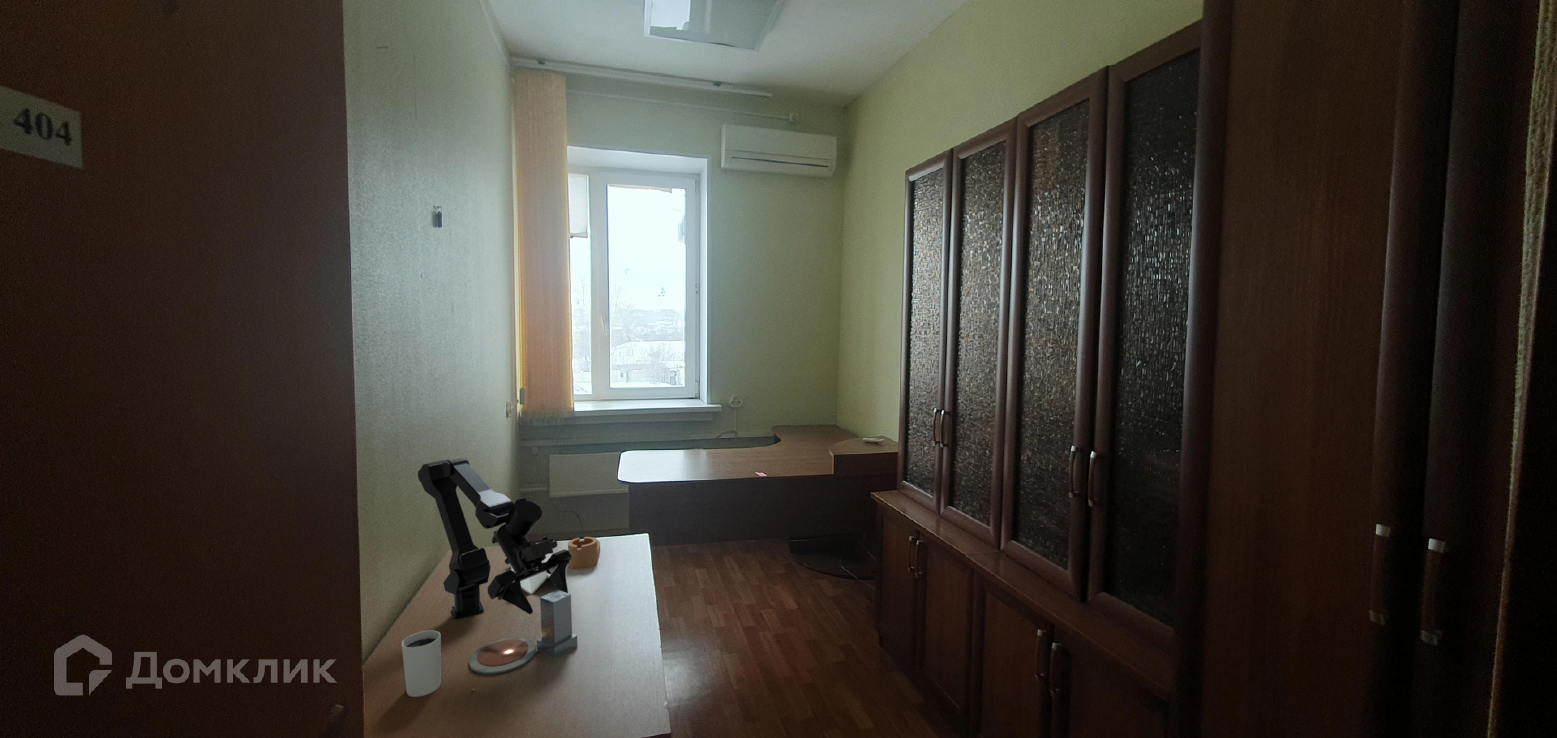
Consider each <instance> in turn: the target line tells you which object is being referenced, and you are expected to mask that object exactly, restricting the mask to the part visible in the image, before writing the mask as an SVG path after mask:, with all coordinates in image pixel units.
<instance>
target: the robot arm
mask: <svg viewBox="0 0 1557 738" xmlns="http://www.w3.org/2000/svg"><path fill="white" fill-rule="evenodd" d="M417 478H418V480H419V482H420V483H421V484H420V485H421V486H422V488H423V490H424V492H426V493H427V494H429V496H431V498H433V499H434V500H435V504H436V506H437V509H438V511H439V514H440V519H441V521H442V524H443V528H444V531H445V534H446V537H447V540H448V543H449V546H450V549H451V557H450V561H449V564H448V568H449V574H448V575H447V577H446V578H445V580H444V581H443V587H444V591H445V592H446V593H448V594H452V595H453V599H454V606H452V607H451V611H452V614H453V618H454V619H459V618H463V617H467V616H471V615H476V614H480V613H484V612H485V609H484V606H483V604H482V602H481V589H480V588H481V587H480V586H481V585H484V584H487V583H488V582H489V577H490V573H491V567H492V566H491V564H490V560H489V559H488V556H487V551H486V549H485V548H484V547H480V548H479V547H478V546H477V545H475V544H474V542H473V539H472V536H471V532H470V529H469V526H468V523H467V520H466V518H465V515H464V511H463V509H462V505H461V502H460V499H459V497H458V496H459V495H458V493H457V488H459V490H461V492H462V493H463V495H464V496H465V497H467V499H468V500H469V501H470V502H471V503H472V504H473V506H474V508H475V512H474V513H475V515H474V516H475V518H476V519H477V520H478V522H479V524H480V525H481V527H483V528H484V529H486V530H488V529H489V530H490V529H493V528H496V527H499V526H500V527H499V528H498V529H497V530H494V531H493V535H492V538H491V544H497V543H498V545H499V547H500V549H501V551H502V552H503V553H504V555H505V557H506V558H505V559H504V563H505V565H510V567H511V566H512V568H513V570H514V571H512V570H511V569H510V570H507V571H505V572H501V573H500V574H496V575H495V577H494V578H493V580H492V581H491V582H490V583H489V585H488V586H487V594H488V596H489V598H490V600H494V599H496V598H497V600H498V601H501V600H503V601H505V602H507V603H509V604H511V605H514V607H517V608H518V609H520V610H521V611H523V612H525V613H527V614H528V615H532V614H533V613H534V610H533V608H532V604H531V603H530V602H529V600H528V598H527V597H526V595H525V593H524V590H523V589H521V583H520V581H522V580H525V579H527V578H530V577H532V576H535V575H537V574H539V573H542V572H544V571H546V572H547V573H548V574H551V575H550V576H549V578H548V579H549V580H550V581H551V583H552V585H553V586H555V588H556V590H560V591H563V592H566V593H569V590H568V585H567V584H568V583H567V578H566V577H567V575H566V569H567V567H568V566H569V561H570V560H571V559H572V558H573V557H572V555H571V553H570V552H569V551H568V549H564V548H563V549H562V550H559V551H557V552H554V550H553V549H555V548H558V541H557V539H556V537H555V536H554V535H553V534H552V533H551V534H549V535H545V536H543V537H542V538H541V541H540V542H536V541H534V540H531V541H530V540H529V538H528V536H527V535H528V534H530V533H531V532H532V530H533V529H534V527H535V526H536V525H537V523H538V521H540V519H541V517H542V516H543V510H542V508H541V506H540V505H538V504H536V503H535V502H534V501H530V500H527V498H526V497H521V498H517V499H516V500H515V501H514V502H513V501H512V499H511V498H509V497H507V496H506V495H505V494H504V493H500V492H496V491H494V490H493V489H492V488H491V487H490V486H489V485H488V484H487V483H486V482H485V481H484V480H483V479H482V478H481V476H479V474H478V473H477V472H476V471H475V470H474V469H473V467H471V466H470V462H469V460H468V459H467V458H464V457H462V458H456V459H442V460H437V461H432V462H428V463H423V464H422V465H421V468H420V469H419V470H418V472H417ZM551 553H552V555H551V557H550V558H549V559H548V561H547V562H544V563H542V561H543V560H544V559H545V558H546V556H545V555H547V554H551ZM537 569H538V570H537Z"/></svg>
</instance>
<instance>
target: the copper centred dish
mask: <svg viewBox="0 0 1557 738" xmlns="http://www.w3.org/2000/svg"><path fill="white" fill-rule="evenodd" d="M536 653H537V644H536V642H534V641H532V640H530V639H528V638H524V637H509V638H508V637H507V638H502V639H498V640H495V641H492V642H489V643H487V644H485V645H482V646H481V647H479V648H478V649H476V651H474V652H473V653H472V654H471V656H470V657H469V661H468V662H469V663H468V664H469V669H470V670H471V671H472V672H474V673H476V674H480V675H498V674H503V673H508V672H511V671H515V670H517V669H519V668H521V667H523V666H524V665H526V664H527V663H529V662H530V661H532V660H533V658H534V657H535V655H536Z"/></svg>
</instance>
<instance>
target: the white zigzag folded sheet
mask: <svg viewBox="0 0 1557 738" xmlns="http://www.w3.org/2000/svg"><path fill="white" fill-rule="evenodd" d="M552 554H553V553H551V554H547V555H545V556H546V558H545V559H544V560H543V561H542V563H544V562H547V561H548V559H549V558H550V557H551V555H552ZM510 570H512V571H514V570H513V568H512V566H511V565H510ZM537 570H538V569H537ZM550 575H551V574H548V573H547V572H546V571H544V572H542V573H539V574H537V575H535V576H532V577H530V578H527V579H525V580H522V581H520V583H521V589H522V591H523V592H526V593H527V594H529V595H531V596H532V595H533V594H534V593H535V592H536V591H537V590H538V589H539V588H540V586H541V585H543V583H544V582H545V581H546V580H547V579H549V576H550Z"/></svg>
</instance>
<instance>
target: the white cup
mask: <svg viewBox="0 0 1557 738" xmlns="http://www.w3.org/2000/svg"><path fill="white" fill-rule="evenodd" d="M441 636H442V635H441V632H440V631H437V630H430V629H429V630H423V631H419V632H415V633H412V634H410V635H408V636H407V637H405V638H404V639H403V640H402V642H401V651H402V652H401V653H402V659H403V671H404V678H405V687H406V688H405V689H406V694H407V695H408V696H409V697H415V698H417V697H418V698H419V697H423V696H427V695H429V694H432V693H433V692H435V691H437V690H438V689H439V688H440V687H441V683H442V682H441V680H442V677H441V673H442V672H441V671H442V670H441V669H442V667H441V664H442V662H441V661H442V660H441V659H442V656H441V654H442V651H441V650H442V646H441V645H442V644H441V643H442V640H441V639H442V638H441Z"/></svg>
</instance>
